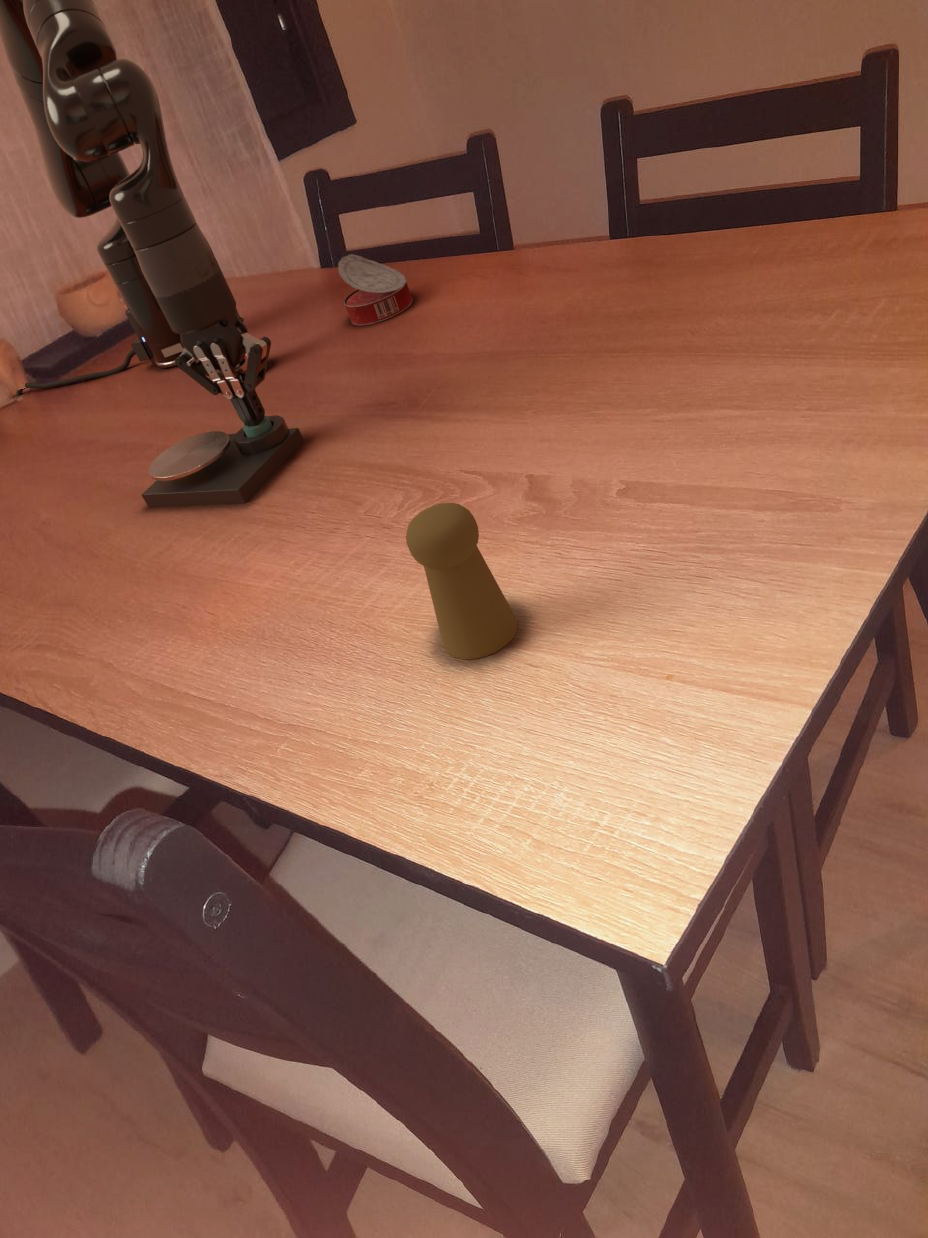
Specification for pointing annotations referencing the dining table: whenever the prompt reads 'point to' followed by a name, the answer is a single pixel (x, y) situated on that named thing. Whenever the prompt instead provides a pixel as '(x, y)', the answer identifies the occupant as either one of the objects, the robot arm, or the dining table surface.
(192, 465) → the scale pan
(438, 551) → the pawn piece
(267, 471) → the scale
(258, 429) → the tare button
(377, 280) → the canned food
